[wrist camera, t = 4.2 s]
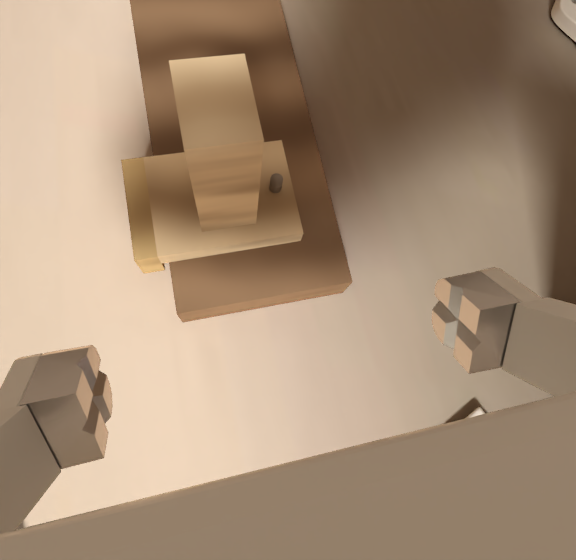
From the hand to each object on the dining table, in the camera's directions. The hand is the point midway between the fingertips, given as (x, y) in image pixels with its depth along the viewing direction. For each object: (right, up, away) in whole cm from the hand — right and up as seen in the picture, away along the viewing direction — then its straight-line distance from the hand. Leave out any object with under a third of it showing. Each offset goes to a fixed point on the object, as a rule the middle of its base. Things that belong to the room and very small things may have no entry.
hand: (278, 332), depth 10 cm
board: (-3, +10, +19) cm, 22 cm away
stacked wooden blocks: (-4, +5, +16) cm, 18 cm away
